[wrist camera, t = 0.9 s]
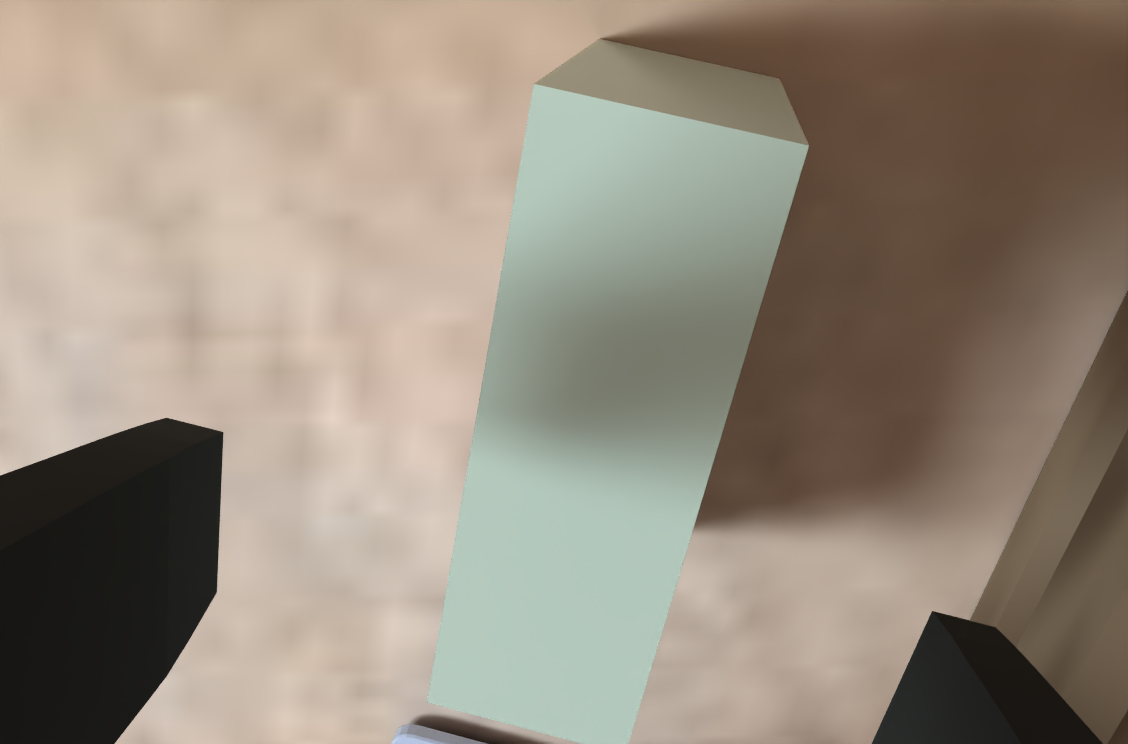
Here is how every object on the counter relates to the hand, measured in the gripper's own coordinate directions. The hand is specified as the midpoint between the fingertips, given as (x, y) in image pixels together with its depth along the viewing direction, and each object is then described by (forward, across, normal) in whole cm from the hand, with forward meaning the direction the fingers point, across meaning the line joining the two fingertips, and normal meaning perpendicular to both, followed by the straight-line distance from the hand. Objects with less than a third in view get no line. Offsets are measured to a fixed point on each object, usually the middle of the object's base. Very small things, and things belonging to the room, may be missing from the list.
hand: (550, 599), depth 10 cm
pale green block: (+9, 0, 0) cm, 9 cm away
